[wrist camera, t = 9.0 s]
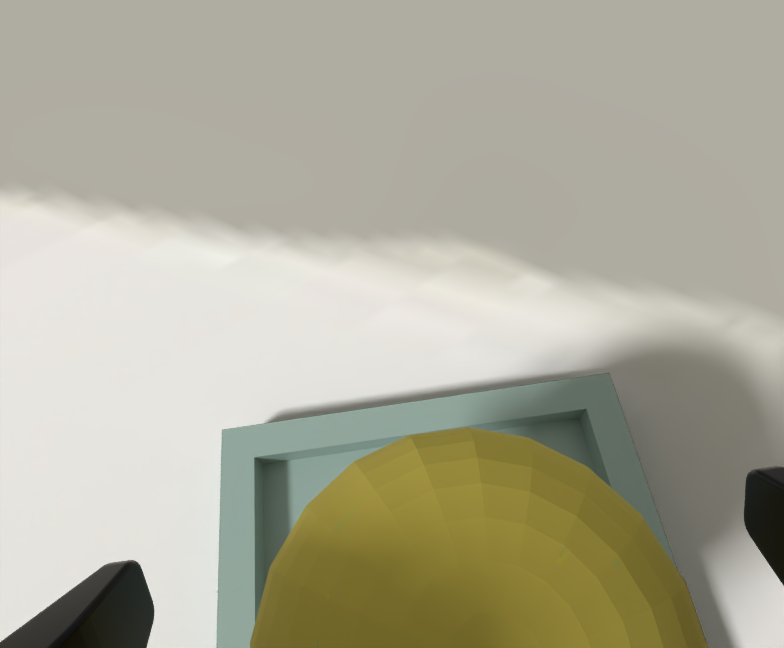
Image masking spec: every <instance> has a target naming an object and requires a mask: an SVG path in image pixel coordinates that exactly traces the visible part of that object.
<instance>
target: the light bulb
mask: <svg viewBox="0 0 784 648" xmlns="http://www.w3.org/2000/svg"><path fill="white" fill-rule="evenodd" d="M250 648H708V645H707V643H706V640H705V637H704V634H703V631H702V628H701V625H700V622H699V619H698V616H697V613H696V610H695V608H694V605H693V602H692V599H691V596H690V593H689V590H688V587H687V584H686V582H685V581H684V579H683V578H682V576H681V575H680V573H679V572H678V570H677V569H676V567H675V566H674V564H673V562H672V561H671V559H670V558H669V556H668V555H667V553H666V552H665V550H664V549H663V547H662V546H661V544H660V543H659V541H658V540H657V538H656V537H655V535H654V534H653V532H652V531H651V529H650V528H649V526H648V525H647V523H646V522H645V520H644V519H643V517H642V516H641V514H640V513H639V512H638V511H636V510H635V509H634V508H633V507H632V506H631V505H630V504H629V503H628V502H626V501H625V500H624V499H623V498H622V497H621V496H620V495H619V494H617V493H616V492H615V491H614V490H613V489H612V488H611V487H610V486H609V485H607V484H606V483H605V482H604V481H603V480H602V479H601V478H600V477H598V476H597V475H596V474H595V473H594V472H593V471H592V470H591V469H590V468H588V467H587V466H585V465H583V464H581V463H579V462H577V461H575V460H573V459H571V458H569V457H567V456H565V455H563V454H561V453H559V452H557V451H555V450H553V449H551V448H549V447H547V446H545V445H543V444H541V443H539V442H537V441H535V440H533V439H530V438H528V437H523V436H517V435H511V434H505V433H499V432H493V431H488V430H482V429H476V428H470V427H465V428H458V429H450V430H443V431H436V432H428V433H421V434H414V435H408V436H406V437H404V438H402V439H399V440H397V441H395V442H393V443H391V444H389V445H387V446H385V447H383V448H381V449H379V450H377V451H374V452H372V453H370V454H368V455H366V456H364V457H362V458H360V459H358V460H356V461H354V462H352V463H351V464H350V465H349V466H348V467H347V468H346V469H345V470H344V471H343V472H342V473H341V474H339V475H338V476H337V477H336V478H335V479H334V480H333V481H332V482H331V483H330V484H329V485H328V486H327V487H326V488H324V489H323V490H322V491H321V492H320V493H319V494H318V495H317V496H316V497H315V498H314V499H313V500H312V501H311V502H309V503H308V504H307V505H306V507H305V508H304V510H303V512H302V513H301V515H300V517H299V518H298V520H297V522H296V524H295V525H294V527H293V529H292V530H291V532H290V534H289V535H288V537H287V539H286V540H285V542H284V544H283V546H282V547H281V549H280V551H279V552H278V554H277V556H276V557H275V559H274V561H273V563H272V564H271V566H270V569H269V573H268V576H267V580H266V584H265V588H264V591H263V595H262V599H261V603H260V606H259V610H258V614H257V618H256V621H255V625H254V629H253V633H252V636H251V640H250Z"/></svg>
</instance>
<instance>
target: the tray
mask: <svg viewBox="0 0 784 648" xmlns="http://www.w3.org/2000/svg"><path fill="white" fill-rule="evenodd" d="M465 427H470V428H476V429H482V430H488V431H493V432H499V433H505V434H511V435H517V436H523V437H528V438H530V439H533V440H535V441H537V442H539V443H541V444H543V445H545V446H547V447H549V448H551V449H553V450H555V451H557V452H559V453H561V454H563V455H565V456H567V457H569V458H571V459H573V460H575V461H577V462H579V463H581V464H583V465H585V466H587V467H588V468H590V469H591V470H592V471H593V472H594V473H595V474H596V475H597V476H598V477H600V478H601V479H602V480H603V481H604V482H605V483H606V484H607V485H609V486H610V487H611V488H612V489H613V490H614V491H615V492H616V493H617V494H619V495H620V496H621V497H622V498H623V499H624V500H625V501H626V502H628V503H629V504H630V505H631V506H632V507H633V508H634V509H635V510H636V511H638V512H639V513H640V514H641V516H642V517H643V519H644V520H645V522H646V523H647V525H648V526H649V528H650V529H651V531H652V532H653V534H654V535H655V537H656V538H657V540H658V541H659V543H660V544H661V546H662V547H663V549H664V550H665V552H666V553H667V555H668V556H669V558H670V559H671V561H672V562H673V564H674V566H675V567H676V564H675V561H674V558H673V555H672V552H671V550H670V547H669V544H668V541H667V538H666V535H665V532H664V529H663V526H662V524H661V521H660V518H659V515H658V512H657V509H656V506H655V503H654V501H653V498H652V495H651V492H650V489H649V486H648V483H647V480H646V478H645V475H644V472H643V469H642V466H641V463H640V460H639V457H638V454H637V452H636V449H635V446H634V443H633V440H632V437H631V434H630V431H629V429H628V426H627V423H626V420H625V417H624V414H623V411H622V408H621V405H620V403H619V400H618V397H617V394H616V391H615V388H614V385H613V382H612V380H611V377H610V374H609V373H605V374H598V375H591V376H584V377H577V378H571V379H564V380H557V381H550V382H543V383H537V384H530V385H523V386H516V387H509V388H503V389H496V390H489V391H482V392H475V393H468V394H462V395H455V396H448V397H441V398H434V399H428V400H421V401H414V402H407V403H400V404H394V405H387V406H380V407H373V408H366V409H360V410H353V411H346V412H339V413H332V414H326V415H319V416H312V417H305V418H298V419H292V420H285V421H278V422H271V423H264V424H258V425H251V426H244V427H237V428H230V429H224V430H222V449H221V489H220V529H219V569H218V609H217V648H250V640H251V636H252V633H253V629H254V625H255V621H256V618H257V614H258V610H259V606H260V603H261V599H262V595H263V591H264V588H265V584H266V580H267V576H268V573H269V569H270V566H271V564H272V563H273V561H274V559H275V557H276V556H277V554H278V552H279V551H280V549H281V547H282V546H283V544H284V542H285V540H286V539H287V537H288V535H289V534H290V532H291V530H292V529H293V527H294V525H295V524H296V522H297V520H298V518H299V517H300V515H301V513H302V512H303V510H304V508H305V507H306V505H307V504H308V503H309V502H311V501H312V500H313V499H314V498H315V497H316V496H317V495H318V494H319V493H320V492H321V491H322V490H323V489H324V488H326V487H327V486H328V485H329V484H330V483H331V482H332V481H333V480H334V479H335V478H336V477H337V476H338V475H339V474H341V473H342V472H343V471H344V470H345V469H346V468H347V467H348V466H349V465H350V464H351V463H352V462H354V461H356V460H358V459H360V458H362V457H364V456H366V455H368V454H370V453H372V452H374V451H377V450H379V449H381V448H383V447H385V446H387V445H389V444H391V443H393V442H395V441H397V440H399V439H402V438H404V437H406V436H408V435H414V434H421V433H428V432H436V431H443V430H450V429H458V428H465ZM676 569H677V567H676Z"/></svg>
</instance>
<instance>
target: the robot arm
mask: <svg viewBox="0 0 784 648" xmlns="http://www.w3.org/2000/svg"><path fill="white" fill-rule="evenodd" d="M744 522H745V526H746V529H747V531H748V533H749V535H750V537H751V538H752V540H753V541H754V543H755V544H756V546H757V547H758V549H759V550H760V552H761V553H762V554H763V556H764V557H765V559H766V560H767V562H768V563H769V565H770V566H771V568H772V569H773V571H774V572H775V574H776V575H777V577H778V578H779V579H780V581H781V582H782V584H783V585H784V467H779V466H775V467H768V468H761V469H754V470H752V471H751V472H749V473H748V475H747V478H746V489H745V506H744ZM153 620H154V605H153V601H152V598H151V595H150V592H149V589H148V586H147V583H146V580H145V577H144V574H143V571H142V569H141V566H140V565H139V563H138V562H136V561H134V560H128V561H121V562H114V563H109V564H106V565H104V566H103V567H101V568H100V569H99V570H97V571H96V572H95V573H93V574H92V575H91V576H89V577H88V578H86V579H85V580H84V581H82V582H81V583H80V584H78V585H77V586H76V587H74V588H73V589H72V590H70V591H69V592H68V593H66V594H65V595H63V596H62V597H61V598H59V599H58V600H57V601H55V602H54V603H53V604H51V605H50V606H49V607H47V608H46V609H45V610H43V611H42V612H40V613H39V614H38V615H36V616H35V617H34V618H32V619H31V620H30V621H28V622H27V623H26V624H24V625H23V626H22V627H20V628H19V629H17V630H16V631H15V632H13V633H12V634H11V635H9V636H8V637H7V638H5V639H4V640H3V641H1V642H0V648H146V647H147V643H148V640H149V636H150V632H151V628H152V624H153Z"/></svg>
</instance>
